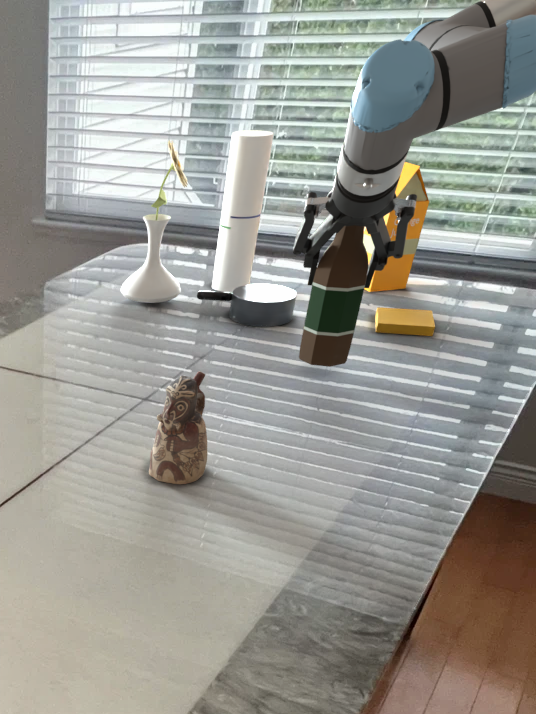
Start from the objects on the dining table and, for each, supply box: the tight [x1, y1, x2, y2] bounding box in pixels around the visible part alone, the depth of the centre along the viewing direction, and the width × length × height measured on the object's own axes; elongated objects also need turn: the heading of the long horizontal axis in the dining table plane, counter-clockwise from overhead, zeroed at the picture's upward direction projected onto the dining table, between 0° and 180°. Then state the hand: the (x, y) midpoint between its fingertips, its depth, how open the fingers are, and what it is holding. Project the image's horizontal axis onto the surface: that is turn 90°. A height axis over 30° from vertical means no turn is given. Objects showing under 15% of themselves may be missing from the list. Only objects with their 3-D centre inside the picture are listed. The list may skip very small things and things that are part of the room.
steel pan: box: [196, 283, 298, 328], centre depth 150 cm, size 17×11×4 cm, turn 72°
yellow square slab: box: [374, 306, 436, 337], centre depth 145 cm, size 9×9×2 cm
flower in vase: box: [119, 139, 189, 304], centre depth 153 cm, size 13×11×25 cm
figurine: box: [148, 370, 208, 485], centre depth 103 cm, size 7×7×12 cm
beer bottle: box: [298, 225, 369, 368], centre depth 122 cm, size 8×8×24 cm
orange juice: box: [363, 161, 430, 293], centre depth 157 cm, size 8×9×20 cm
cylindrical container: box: [211, 129, 275, 293], centre depth 156 cm, size 7×7×25 cm
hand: (339, 277), depth 125 cm, fingers closed on beer bottle, 7 cm apart
